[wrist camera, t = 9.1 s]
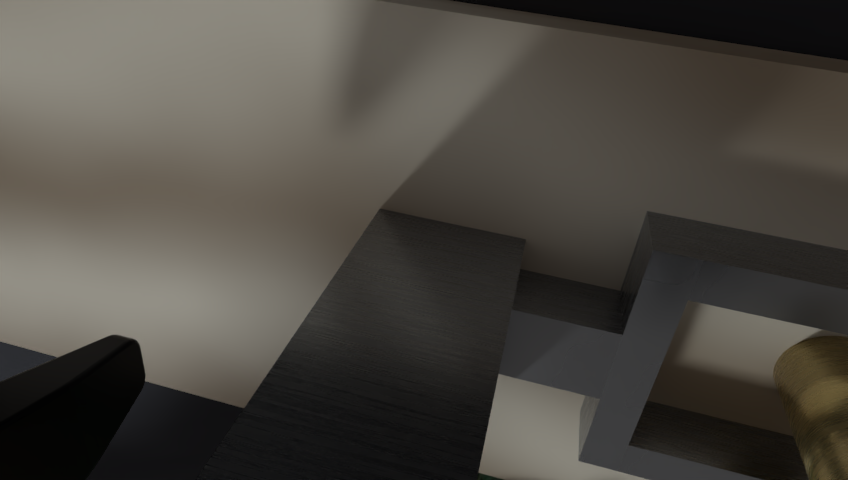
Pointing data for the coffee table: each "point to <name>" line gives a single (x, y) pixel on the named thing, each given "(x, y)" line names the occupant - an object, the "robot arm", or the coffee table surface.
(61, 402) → the robot arm
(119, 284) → the tie-down board
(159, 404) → the coffee table surface
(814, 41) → the coffee table surface
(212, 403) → the coffee table surface
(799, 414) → the keeper post
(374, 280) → the end link
